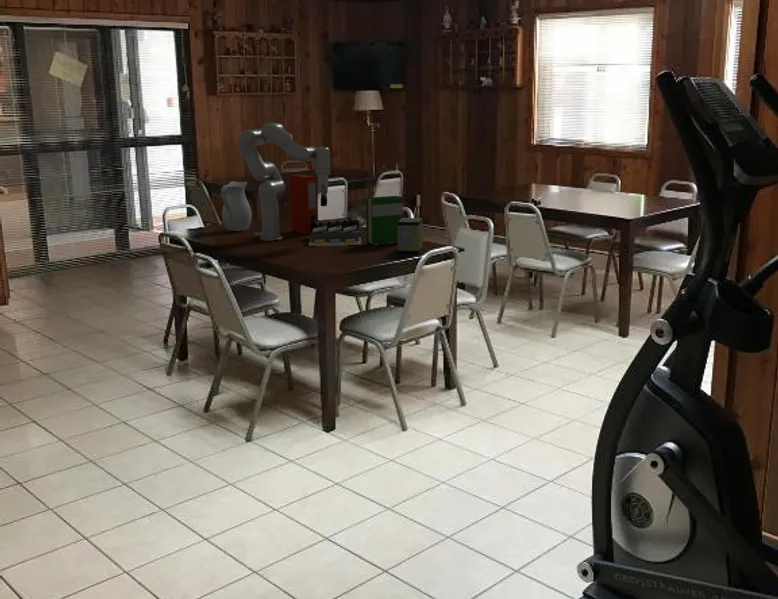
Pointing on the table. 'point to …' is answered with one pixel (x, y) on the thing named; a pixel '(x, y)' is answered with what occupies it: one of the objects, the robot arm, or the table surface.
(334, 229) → the switch middle
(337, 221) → the muzzle brake
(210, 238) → the table surface
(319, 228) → the switch left
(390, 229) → the hardback book
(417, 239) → the protein box
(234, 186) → the pitcher
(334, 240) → the panel
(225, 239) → the table surface
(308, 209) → the file binder
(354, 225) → the switch right
